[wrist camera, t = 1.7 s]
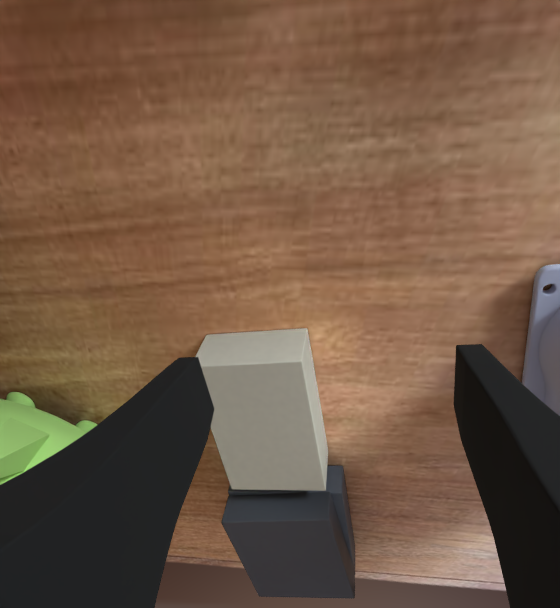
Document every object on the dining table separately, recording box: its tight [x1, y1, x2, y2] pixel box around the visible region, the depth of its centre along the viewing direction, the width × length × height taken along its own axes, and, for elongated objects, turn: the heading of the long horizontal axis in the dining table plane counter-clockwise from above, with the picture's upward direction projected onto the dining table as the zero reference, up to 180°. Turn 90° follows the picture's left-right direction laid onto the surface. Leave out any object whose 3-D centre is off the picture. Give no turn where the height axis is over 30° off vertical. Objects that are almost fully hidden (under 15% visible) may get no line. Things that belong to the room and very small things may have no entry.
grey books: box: [221, 466, 355, 598], centre depth 28 cm, size 9×7×4 cm
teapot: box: [0, 392, 97, 485], centre depth 26 cm, size 12×12×10 cm
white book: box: [195, 328, 328, 491], centre depth 24 cm, size 9×6×3 cm, turn 10°
